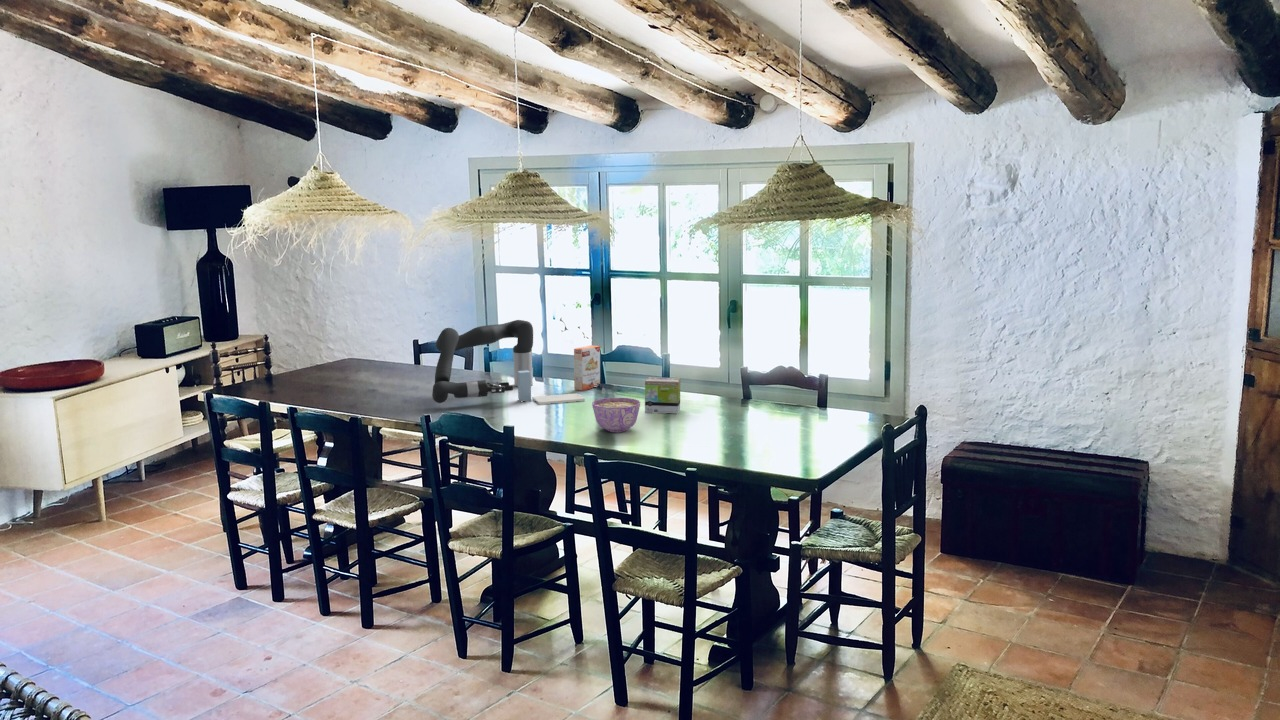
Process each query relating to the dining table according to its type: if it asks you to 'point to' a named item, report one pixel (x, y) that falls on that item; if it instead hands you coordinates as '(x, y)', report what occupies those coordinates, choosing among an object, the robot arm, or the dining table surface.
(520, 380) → the blue block
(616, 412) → the bowl of food
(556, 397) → the cream tile
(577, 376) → the cracker box
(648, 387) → the tea box
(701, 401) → the dining table surface
